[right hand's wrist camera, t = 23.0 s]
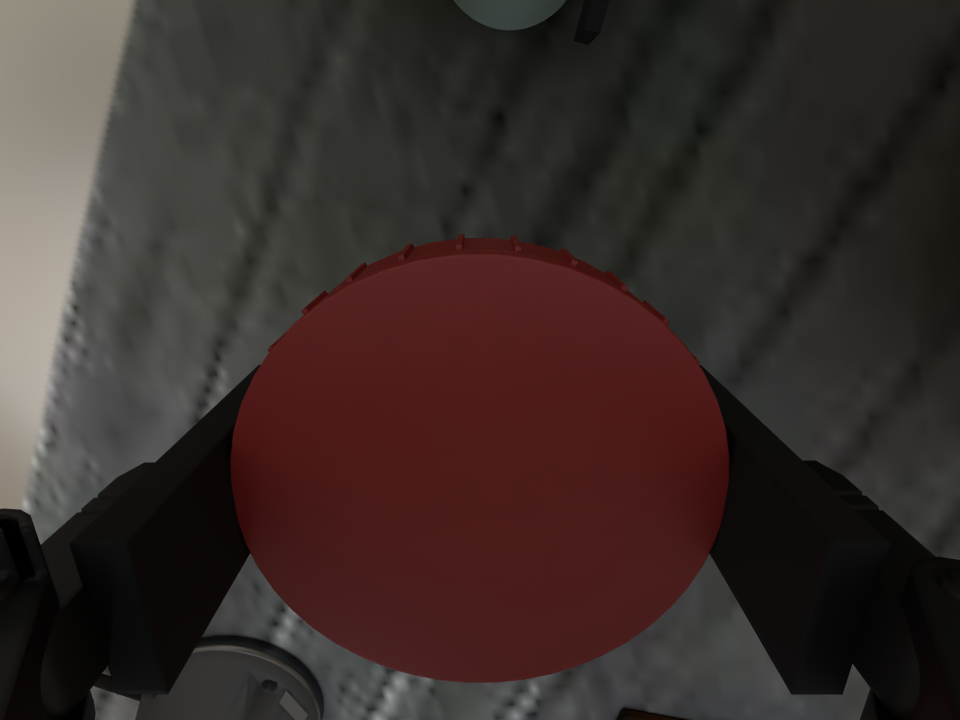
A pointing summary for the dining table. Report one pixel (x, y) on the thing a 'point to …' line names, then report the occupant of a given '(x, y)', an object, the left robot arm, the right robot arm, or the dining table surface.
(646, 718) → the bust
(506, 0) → the jar
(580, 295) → the lid
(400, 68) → the dining table surface
